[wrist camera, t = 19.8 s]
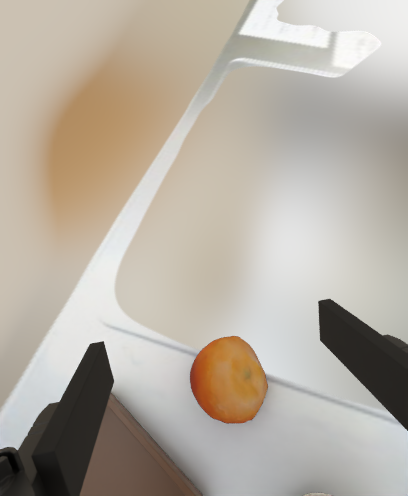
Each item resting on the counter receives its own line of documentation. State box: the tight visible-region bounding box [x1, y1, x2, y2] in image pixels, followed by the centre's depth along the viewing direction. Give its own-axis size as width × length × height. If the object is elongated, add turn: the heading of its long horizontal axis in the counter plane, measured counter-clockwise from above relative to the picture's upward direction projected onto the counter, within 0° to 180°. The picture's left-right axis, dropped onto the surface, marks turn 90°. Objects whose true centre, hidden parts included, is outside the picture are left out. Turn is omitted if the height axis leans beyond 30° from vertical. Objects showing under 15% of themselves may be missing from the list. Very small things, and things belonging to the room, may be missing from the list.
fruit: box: [190, 336, 268, 423], centre depth 28 cm, size 8×8×8 cm
